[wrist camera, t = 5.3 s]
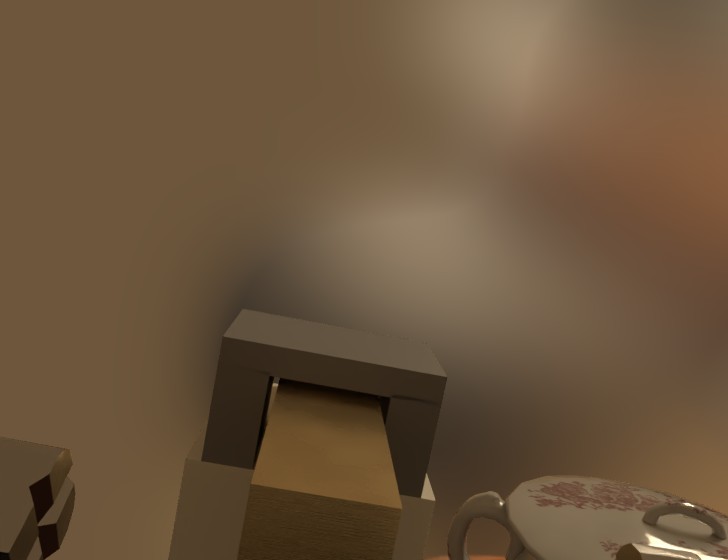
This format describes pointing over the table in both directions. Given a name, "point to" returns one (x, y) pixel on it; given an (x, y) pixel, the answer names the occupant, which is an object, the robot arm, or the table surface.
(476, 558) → the table surface
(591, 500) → the chamber pot
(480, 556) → the table surface
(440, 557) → the table surface
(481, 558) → the table surface
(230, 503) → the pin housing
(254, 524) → the wooden rectangular plunger
